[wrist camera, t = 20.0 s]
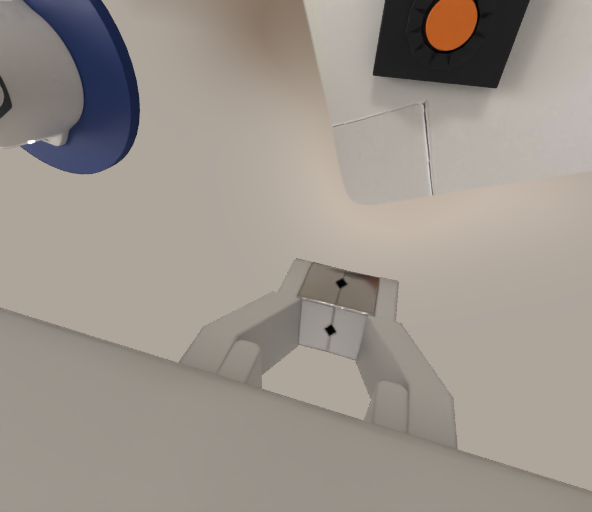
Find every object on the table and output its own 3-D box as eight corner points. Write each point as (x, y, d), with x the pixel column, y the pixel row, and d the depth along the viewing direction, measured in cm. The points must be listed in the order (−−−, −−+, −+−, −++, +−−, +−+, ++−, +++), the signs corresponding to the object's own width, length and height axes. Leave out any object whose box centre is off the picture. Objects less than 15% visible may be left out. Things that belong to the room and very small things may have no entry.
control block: (374, 72, 34) (370, 78, 31) (395, -49, 28) (392, -56, 25) (492, 84, 31) (500, 92, 28) (539, -44, 26) (555, -52, 23)
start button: (420, 47, 28) (420, 48, 27) (433, -7, 26) (433, -8, 25) (465, 50, 28) (467, 52, 26) (481, -5, 26) (485, -6, 24)
